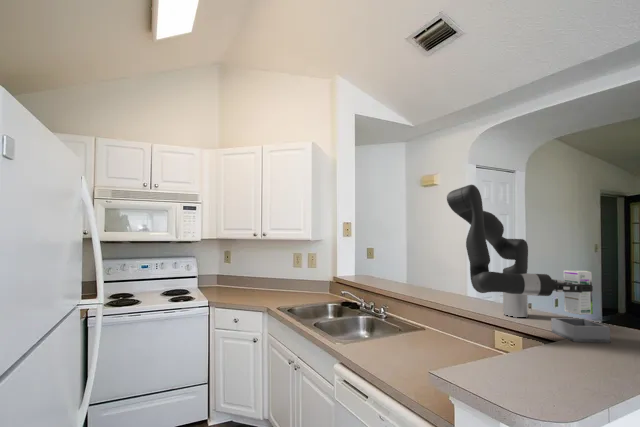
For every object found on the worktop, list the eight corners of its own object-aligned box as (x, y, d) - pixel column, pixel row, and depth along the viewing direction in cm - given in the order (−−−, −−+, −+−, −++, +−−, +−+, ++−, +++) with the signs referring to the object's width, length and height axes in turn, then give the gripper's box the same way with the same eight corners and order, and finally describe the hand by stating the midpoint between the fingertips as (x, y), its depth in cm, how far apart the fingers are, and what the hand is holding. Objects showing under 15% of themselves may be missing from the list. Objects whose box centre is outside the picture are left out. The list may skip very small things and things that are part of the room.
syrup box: (580, 315, 117) (579, 271, 118) (563, 311, 123) (563, 269, 124) (593, 314, 119) (592, 271, 120) (576, 310, 124) (575, 269, 125)
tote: (551, 332, 126) (551, 318, 127) (584, 332, 126) (584, 318, 126) (573, 341, 115) (573, 326, 115) (610, 342, 115) (609, 327, 115)
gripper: (544, 275, 116) (598, 278, 114) (524, 271, 130) (571, 273, 129) (545, 298, 116) (599, 301, 114) (524, 292, 130) (571, 294, 128)
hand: (584, 286), depth 121 cm, fingers closed on syrup box, 7 cm apart
